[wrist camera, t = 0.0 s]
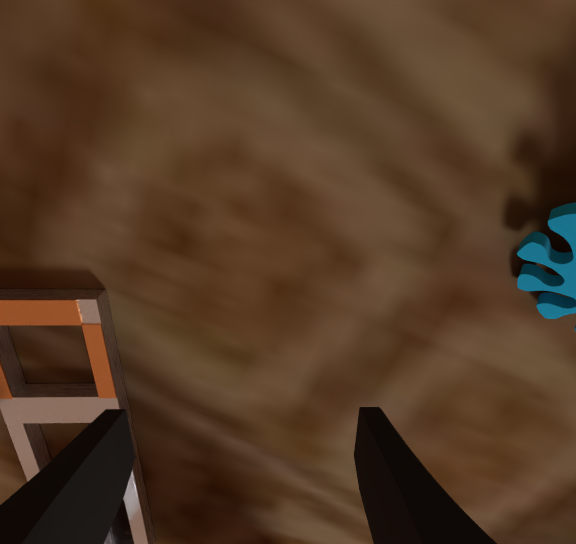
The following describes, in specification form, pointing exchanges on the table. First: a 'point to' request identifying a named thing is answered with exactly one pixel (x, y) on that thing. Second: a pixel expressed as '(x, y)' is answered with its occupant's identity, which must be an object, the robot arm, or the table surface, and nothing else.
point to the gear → (552, 265)
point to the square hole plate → (67, 386)
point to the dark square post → (118, 526)
